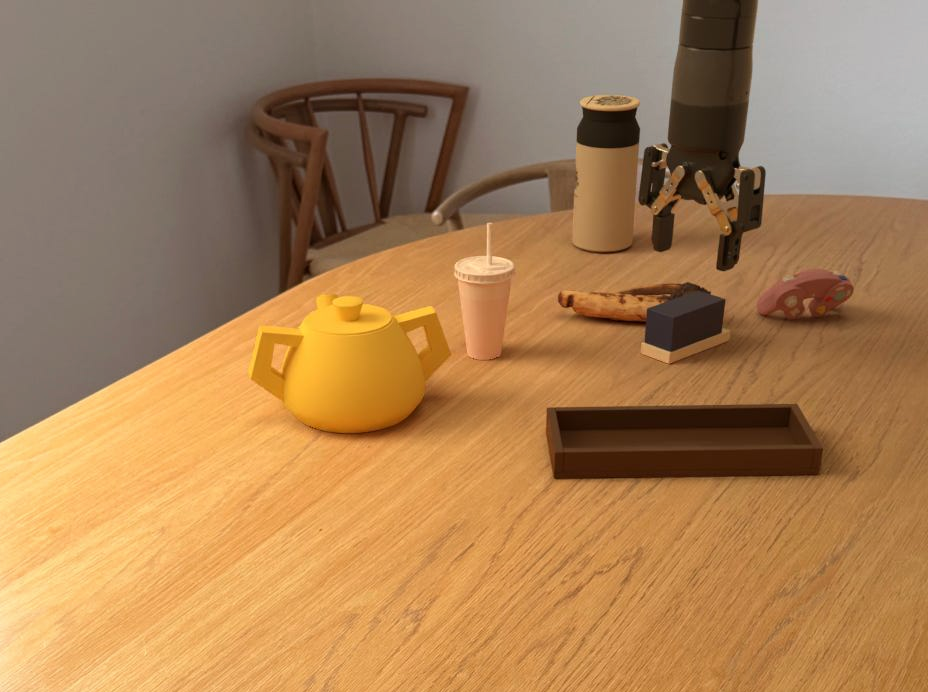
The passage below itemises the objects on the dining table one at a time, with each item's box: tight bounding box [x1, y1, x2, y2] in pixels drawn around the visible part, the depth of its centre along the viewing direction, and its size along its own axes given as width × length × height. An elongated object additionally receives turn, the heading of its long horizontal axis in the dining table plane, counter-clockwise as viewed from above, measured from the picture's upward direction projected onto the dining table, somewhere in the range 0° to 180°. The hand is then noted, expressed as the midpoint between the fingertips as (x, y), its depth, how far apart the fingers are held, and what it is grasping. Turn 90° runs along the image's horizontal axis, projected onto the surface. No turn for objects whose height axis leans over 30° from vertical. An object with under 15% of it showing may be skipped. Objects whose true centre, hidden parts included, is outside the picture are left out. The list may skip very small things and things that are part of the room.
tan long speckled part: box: [557, 281, 712, 323], centre depth 144 cm, size 9×5×18 cm
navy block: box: [640, 291, 731, 365], centre depth 136 cm, size 10×4×5 cm, turn 131°
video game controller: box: [756, 268, 855, 321], centre depth 143 cm, size 10×5×7 cm, turn 104°
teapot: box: [247, 293, 453, 434], centre depth 123 cm, size 20×18×11 cm
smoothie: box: [453, 222, 516, 361], centre depth 132 cm, size 6×6×14 cm
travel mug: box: [571, 94, 641, 254], centre depth 162 cm, size 8×8×18 cm
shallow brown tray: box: [545, 403, 824, 479], centre depth 115 cm, size 24×10×3 cm, turn 91°
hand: (692, 259), depth 132 cm, fingers open, 8 cm apart
